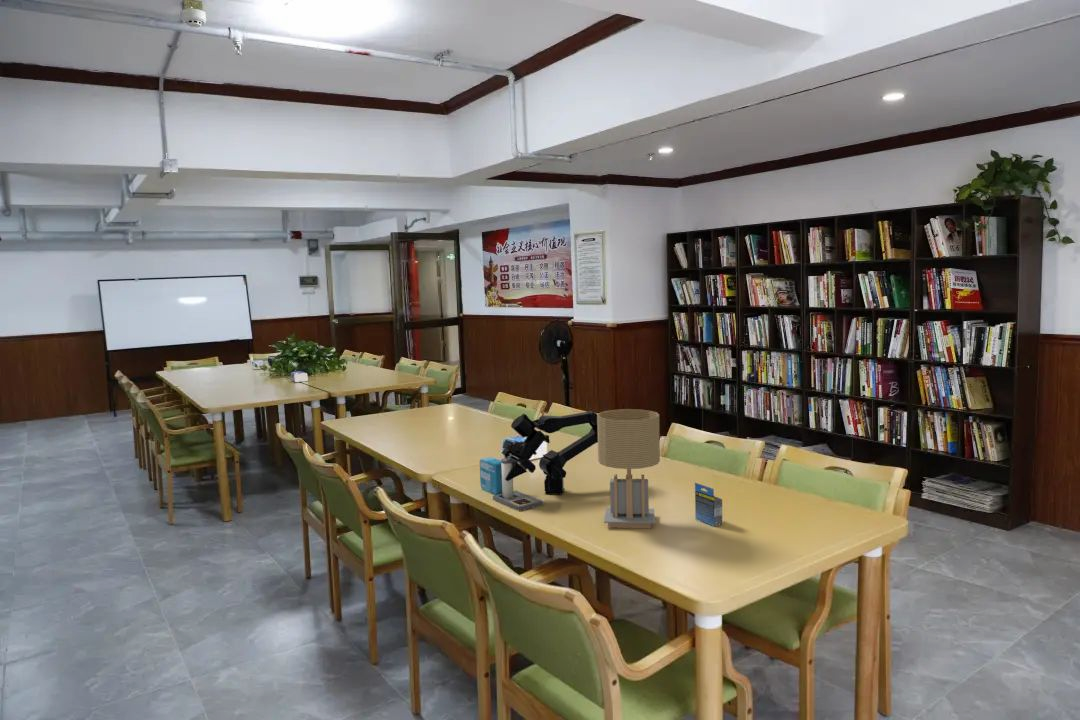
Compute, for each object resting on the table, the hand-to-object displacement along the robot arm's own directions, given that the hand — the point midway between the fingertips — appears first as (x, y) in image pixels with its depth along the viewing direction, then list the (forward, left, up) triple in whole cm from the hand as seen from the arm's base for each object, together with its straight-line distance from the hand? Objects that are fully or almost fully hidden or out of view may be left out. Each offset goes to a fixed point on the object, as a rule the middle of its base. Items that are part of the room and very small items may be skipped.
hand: (503, 478), depth 256 cm
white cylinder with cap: (-1, -1, -8) cm, 8 cm away
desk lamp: (-46, +19, -8) cm, 50 cm away
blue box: (+7, -12, -8) cm, 16 cm away
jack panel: (-5, +2, -8) cm, 10 cm away
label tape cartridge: (-71, +17, -8) cm, 73 cm away
